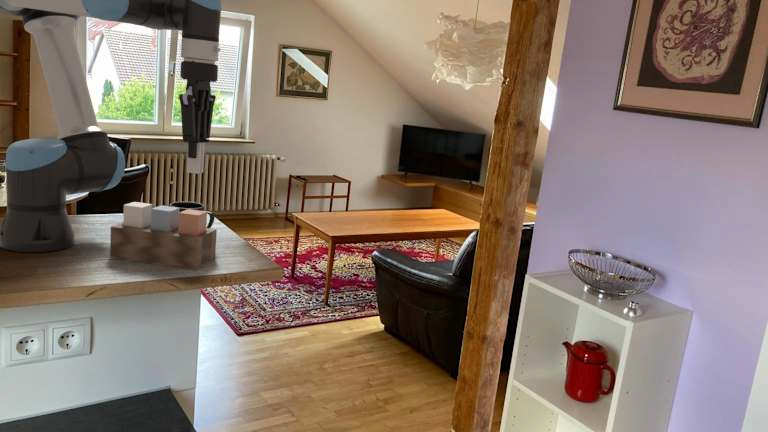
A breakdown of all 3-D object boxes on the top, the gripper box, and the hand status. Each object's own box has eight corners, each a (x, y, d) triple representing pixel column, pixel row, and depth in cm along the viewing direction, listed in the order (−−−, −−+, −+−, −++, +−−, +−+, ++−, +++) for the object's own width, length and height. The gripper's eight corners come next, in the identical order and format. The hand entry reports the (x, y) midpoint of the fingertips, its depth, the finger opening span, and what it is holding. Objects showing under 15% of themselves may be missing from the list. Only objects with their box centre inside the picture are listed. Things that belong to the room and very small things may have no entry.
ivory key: (123, 235, 141) (123, 205, 139) (133, 231, 145) (134, 201, 144) (141, 238, 140) (142, 207, 139) (151, 234, 145) (152, 204, 143)
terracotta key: (178, 243, 139) (179, 212, 138) (187, 239, 144) (188, 209, 142) (197, 246, 139) (198, 215, 137) (205, 241, 143) (207, 211, 142)
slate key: (150, 239, 140) (151, 208, 139) (160, 235, 144) (161, 205, 143) (169, 242, 140) (170, 211, 138) (178, 237, 144) (179, 207, 142)
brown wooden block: (110, 257, 139) (110, 226, 138) (134, 246, 149) (135, 217, 148) (196, 270, 137) (197, 239, 135) (215, 258, 146) (216, 229, 145)
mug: (199, 251, 150) (201, 212, 148) (160, 242, 155) (161, 204, 153) (221, 245, 158) (223, 208, 156) (184, 236, 162) (185, 200, 160)
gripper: (202, 61, 126) (197, 178, 131) (229, 64, 139) (224, 170, 144) (166, 57, 127) (163, 174, 132) (197, 61, 140) (192, 166, 145)
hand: (195, 172), depth 138 cm, fingers closed
